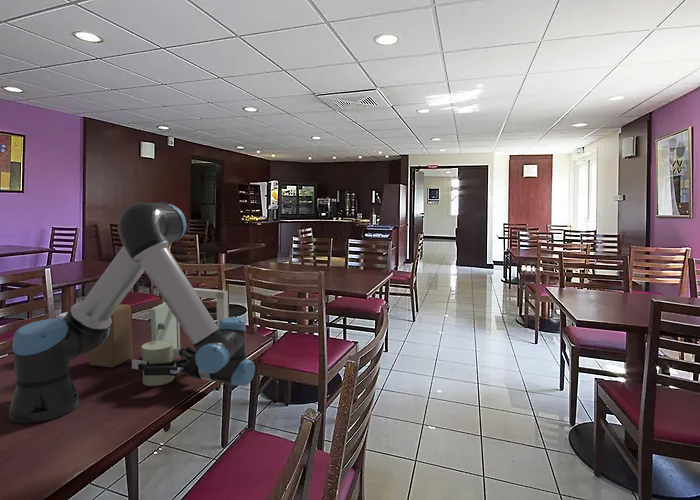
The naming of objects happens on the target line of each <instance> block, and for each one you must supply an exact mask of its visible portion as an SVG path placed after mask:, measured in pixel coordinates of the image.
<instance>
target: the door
mask: <svg viewBox="0 0 700 500" xmlns="http://www.w3.org/2000/svg"><path fill="white" fill-rule="evenodd" d="M147 327H148V329H149V330H151V333H150V334H151V342H152V341H159V340H167V341H171V342H173V348H177V349H179V340H178V321H177V319H176V318H175V316H174V315H173V313H172V312H171V310H170V309H169V307H168V306H167V304H166V303H165V302H164V303H163V302H162V303H161V304H159V305H157V306H154V307H152V308H151V309H150V322H149V323H148V325H147ZM174 358H175V357H173V359H174Z"/></svg>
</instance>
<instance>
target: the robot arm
mask: <svg viewBox="0 0 700 500" xmlns="http://www.w3.org/2000/svg"><path fill="white" fill-rule="evenodd" d="M187 225H188V223H187V220H186V217H185V215H184V213H183V212H182V210H181V209H180V208H178V207H177V206H175V205H174V204H171V203H167V202H155V203H154V202H136V203H133V204H131V205H129V206H127V207H126V208H125V209H124V210H123V211H122V213H121V214H120V216H119V219H118V222H117V229H118V230H117V232H118V234H119V235H118V236H119V238H120V241H121V243H122V247H121V248H120V250H119V251H118V252H117V254H116V255H115V256H114V258H113V259H112V260H111V261H110V264H109V265H108V266H107V267H106V269H105V271H104V272H103V273H102V274H101V276H100V277H99V279H98V280H97V281H96V283H95V284H94V285H93V287H92V288H91V290H89V292H88V293H87V295H86V297H85V298H84V300H83V301H82V302H76V303H75V304H73V305H71V307H70V309H69V310H68V311H67V312H68V313H67V314H66V315H65V317H64V318H63V319H62V320H61V319H59V318H47V319H46V318H45V319H41V320H39V321H32V322H30V323H27V324H25V325H23V326H20V327H19V328H18V329H17V330H15V332H14V334H13V336H12V345H11V347H12V352H13V366H14V376H15V389H14V392H13V395H12V398H11V402H10V405H9V408H8V419H9V421H11V422H12V423H16V424H21V425H22V424H25V425H26V424H36V423H42V422H47V421H50V420H53V419H56V418H60V417H62V416H64V415H67V414H69V413H70V412H71V411H74V410H75V409H77V407H78V406H79V404H80V397H79V393H78V390H77V388H76V386H75V385H74V383H73V381H72V379H71V378H72V377H71V373H70V361H73V360H74V359H76V358H78V357H80V356H82V355H84V354H86V353H88V351H91V350H93V349H95V348H96V347H98V346H100V345H101V344H102V343H103V342H104V341H105V340H106V338H107V337H108V335H109V331H110V328H109V327H110V325H111V323H112V320H111V317H110V316H111V315H112V314H113V312H114V311H115V310H116V308H117V307H118V306H119V304H122V301H123V300H124V299H125V298H126V296H127V295H128V294H129V292H130V291H131V289H132V288H133V287H134V285H135V284H136V283H137V282H138V280H139V279H140V277H141V276H142V274H143V273H144V272H145V273H146V275H147V276H148V278H149V279H150V281H151V282H152V284H153V286H154V287H155V289H156V290H157V291H158V294H159V295H160V296H161V298H162V300H163V299H164V301H165V303H166V304H167V306H168V307H169V309H170V310H171V312H172V313H173V315H174V316H175V318H176V319H177V321H178V322H179V327H181V329H182V330H183V332H184V334H186V336H187V338H188V339H189V341H190V342H191V344H192V346H193V347H194V348H193V347H190V346H187V347H186V348H180V349H177V348H173V357H174V358H178V359H173V360H172V362H162V363H151V362H149V361H142V360H140V359H136V358H132V359H131V369H132V370H139V371H142V372H143V371H144V375H145V376H152V375H170V376H174V377H177V376H178V375H179V374H178V373H180V372H181V373H187V375H189V376H188V377H191V378H194V379H199V380H205V381H206V380H207V381H211V382H213V383H214V382H216V383H217V382H218V383H220V384H221V383H222V384H227V385H231V386H239V387H240V386H241V387H246V386H247V385H249V384H250V383H251V382H252V380H253V378H254V376H255V373H256V372H255V371H256V366H255V364H254V361H253V360H250V359H249V358H247V354H246V351H247V349H246V347H247V346H246V343H247V342H246V341H247V339H246V336H247V335H246V334H247V333H246V332H247V329H246V321H245V319H244V318H242V317H236V316H235V317H234V316H233V317H231V316H230V317H229V316H228V318H224V319H222V320H220V322H219V328H218V326H217V322H216V321H215V320H214V318H213V317H212V315H211V314H210V312H209V311H208V309H207V308H206V306H205V305H204V303H203V302H202V300H201V299H200V298H201V297H198V295H197V293H196V292H195V290H194V289H193V288H194V287H193V285H192V284H191V283H190V281H189V279H188V278H187V276H186V274H185V273H184V272H183V270H182V268H181V267H180V265H179V263H178V262H177V260H176V259H175V257H174V255H173V254H172V253H171V251H170V250H169V248H170V246H171V245H172V243H176V242H178V241H179V240H181V238H183V237H184V235H185V234H186V231H187ZM179 358H180V359H179Z"/></svg>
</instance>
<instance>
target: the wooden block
mask: <svg viewBox="0 0 700 500" xmlns="http://www.w3.org/2000/svg"><path fill="white" fill-rule="evenodd" d="M131 308H132V306H131V305H130V304H123V303H120V304H119V306H118V307H117V308H116V310H115V311H114V312H113V314H112V315H111V316H110V317H111V320H112V323H111V325H110V327H109V328H110V331H109V335H108V337H107V338H106V340H105V341H104V342H103V343H102V344H101V345H100V346H98V347H96V348H95V349H93V350H91V351H88V352H87V353H88V364H89V365H90V366H95V367H96V366H97V367H105V368H115V367H117V366H119V365H121V364H123V363H125V362H127V361H129V360H132V359H133V337H132V336H133V334H132V332H133V331H132V309H131Z"/></svg>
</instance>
